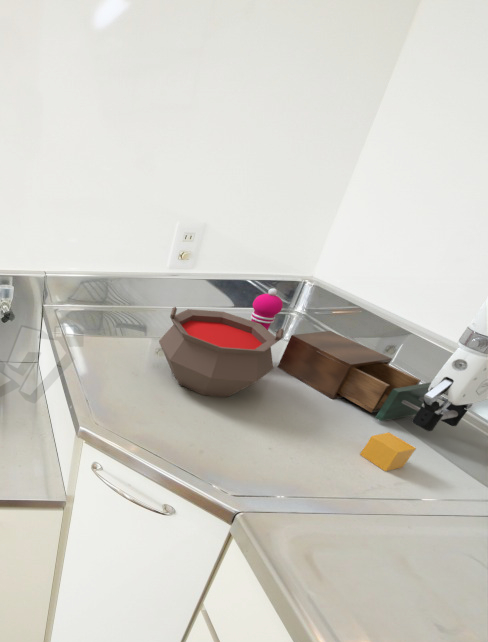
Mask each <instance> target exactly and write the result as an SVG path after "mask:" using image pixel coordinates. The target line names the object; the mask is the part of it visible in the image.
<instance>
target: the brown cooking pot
mask: <svg viewBox="0 0 488 642" xmlns="http://www.w3.org/2000/svg"><path fill="white" fill-rule="evenodd" d="M177 310H178V308H177V307H176V306H174V307H172V309H171V312H170V315H169V317H170V320H171V322H172V325H171V327H170V328H169V329H168V330H167V331H166V332H165V333H164V335H163V336H162V337H160V339H159V340H158V343H159V346H160V348H161V350H162V352H163V354H164V358H165V359H166V361H167V363H168V366H169V368H170V371H171V372H172V374H173V376H174V378H175V379H176V381H177V383H178V384H179V386H181V387H184V388H186V389H189V391H190V390H191V391H192V392H194V393H197V394H200V396H201V395H202V396H209V397H221V398H228V397H230V396H232V395H234V394H236V393H238V392H240V391H242V390H244V389H246V388H247V387H249V386H251V385H254V384H256V383H257V382H258V381H260V380H261V379H262V378H263V377H265V376H266V375H267V374H268V373H269V372H271V371H272V370H273V369H274V362H273V353H272V346H275V344H277V343H278V342H280V341H281V340H282V339H283V338H284V333H285V330H284V328H279V329H278V330H277V331H276V333H275V335H274V333H272V332H270V330H269V329H268V330H267V329H266V328H265V327H264V326H262V325H261V324H259V323H256V322H253V321H251V319H247V318H244V317H241V316H238V315H236V314H233V313H228V312H225V311H219V310H218V311H217V310H205V309H191V308H187V309H185V310H183V311H180V312H178V313H177Z"/></svg>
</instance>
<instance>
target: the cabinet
mask: <svg viewBox="0 0 488 642" xmlns="http://www.w3.org/2000/svg"><path fill="white" fill-rule="evenodd" d="M392 360H393V358H392V357H389V356H388V355H385V354H383V353H381V352H378V351H376V350H374V349H372V348H369V347H367V346H366V345H363V344H360V343H358V342H356V341H354V340H352V339H350V338H348V337H345V336H343V335H340V334H338V333H336V332H334V331H332V330H324V331H316V332H314V331H313V332H306V333H297V334H291V335H290V338H289V340H288V342H287V344H286V346H285V349H284V351H283V353H282V356H281V358H280V360H279V362H278V364H277V368H278V369H280V370H282V371H284V372H285V373H287V374H289V375H290V376H292V377H293V378H295V379H296V380H299V381H300V382H302V383H304V384H305V385H307V386H309V387H311V388H312V389H314V390H315V391H317V392H319V393H321V394H323V395H324V396H325V397H328V398H329V399H331V400H336V399H343V398H344V397H343V396H341V395H340V394H338V392H339V390H340V388H341V386H342V385H343V383H344V381H345V379H346V377H347V375H348V374H349V372H350V370H351V368H352V367H357V366H364V365H371V364H378V363H385V364H388V365H390V363H391V362H392Z"/></svg>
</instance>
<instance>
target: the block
mask: <svg viewBox="0 0 488 642" xmlns="http://www.w3.org/2000/svg"><path fill="white" fill-rule="evenodd" d="M416 449H417V447H415V446H413V445H412V444H410V443H408V442H406V441H405V440H403V439H401V438H399V437H398V436H396V435H394V434H393V433H391V432H383V433H379V434H374V435H371V436H370V438H369V439H368V441H367V443H366V444H365V446H364V447H363V449H362V451H361V452H360V453H359V455H360V456H361V457H363V458H364V459H366V460H367V461H369V462H370V463H372V464H373V465H375V466H377V467H378V468H379V469H381V470H382V471H384V472H389V471H393V470H397V469H402V468H404V466H405V465H406V463H407V462H408V461H409V459H410V458H411V456H412V455H413V454H414V452H415V451H416Z"/></svg>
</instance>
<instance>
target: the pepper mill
mask: <svg viewBox="0 0 488 642" xmlns="http://www.w3.org/2000/svg"><path fill="white" fill-rule="evenodd" d="M277 294H278V290H277V289H276V288H274V287H273V288H269V290H268V291H267V293H262V294H260V295H258V296H256V298H255V299H254V300H253V302H252V308H253V311H251V315H250V321H253V322H256V323H259V324H261V325H262V326H264V327H265V328H266V329H267V330H268V331H269V328H270V326H271V325H272V324H273V323H274V322H275V319H276V315H278V314H279V313H281V312H282V309H283V306H284V303H283V300H282V299H281V297H280V296H278V295H277Z"/></svg>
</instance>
